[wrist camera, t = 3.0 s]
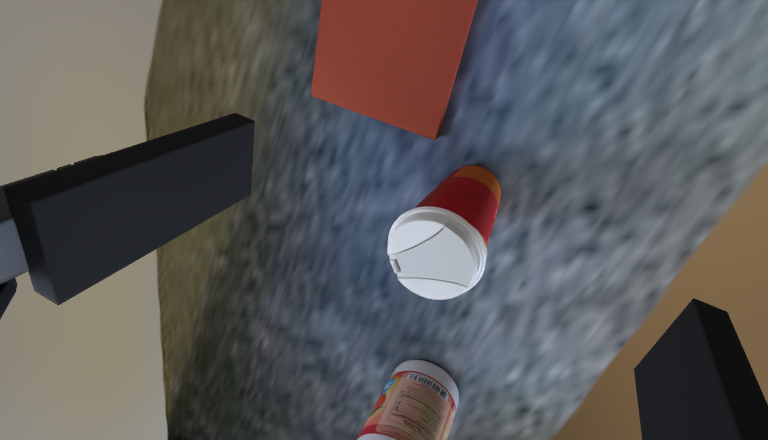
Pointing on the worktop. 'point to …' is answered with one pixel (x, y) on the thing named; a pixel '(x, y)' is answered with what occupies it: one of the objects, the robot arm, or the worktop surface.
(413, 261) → the paper cup
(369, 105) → the pad
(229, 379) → the worktop surface
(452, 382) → the fruit juice
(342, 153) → the worktop surface
